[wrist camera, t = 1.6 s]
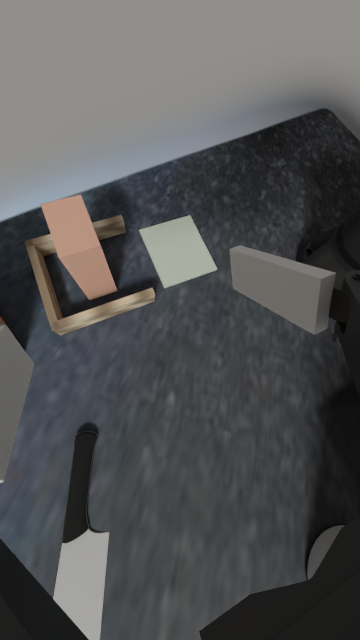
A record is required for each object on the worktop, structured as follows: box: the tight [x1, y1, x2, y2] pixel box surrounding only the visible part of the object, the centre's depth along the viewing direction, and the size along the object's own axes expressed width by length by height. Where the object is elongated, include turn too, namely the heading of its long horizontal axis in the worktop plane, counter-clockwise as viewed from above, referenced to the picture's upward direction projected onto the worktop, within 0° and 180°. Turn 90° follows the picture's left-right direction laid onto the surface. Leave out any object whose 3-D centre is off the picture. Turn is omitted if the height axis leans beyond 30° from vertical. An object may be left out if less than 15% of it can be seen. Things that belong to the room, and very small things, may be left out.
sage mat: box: [139, 215, 217, 288], centre depth 45 cm, size 11×13×1 cm
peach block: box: [41, 195, 117, 300], centre depth 35 cm, size 5×8×14 cm, turn 23°
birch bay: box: [24, 215, 155, 335], centre depth 40 cm, size 17×16×4 cm
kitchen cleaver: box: [53, 431, 109, 640], centre depth 31 cm, size 31×2×10 cm
